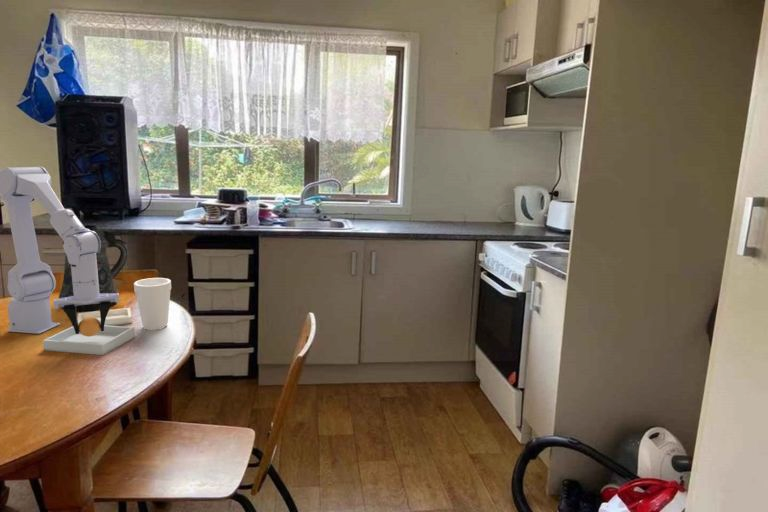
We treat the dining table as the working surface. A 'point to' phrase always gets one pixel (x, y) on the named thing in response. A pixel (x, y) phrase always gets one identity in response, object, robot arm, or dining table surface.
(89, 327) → the ball
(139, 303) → the foam cup
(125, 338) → the tray
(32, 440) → the dining table surface
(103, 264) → the beer stein
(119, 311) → the dish
